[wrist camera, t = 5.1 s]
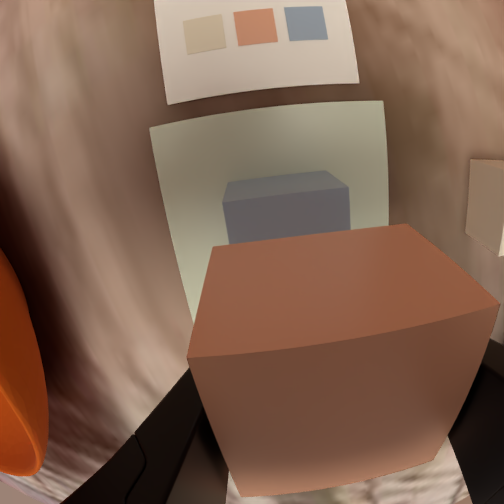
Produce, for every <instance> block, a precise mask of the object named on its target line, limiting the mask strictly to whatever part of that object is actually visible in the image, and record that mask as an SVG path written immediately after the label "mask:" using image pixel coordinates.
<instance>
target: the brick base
mask: <svg viewBox="0 0 504 504" xmlns="http://www.w3.org/2000/svg"><path fill="white" fill-rule="evenodd" d="M222 205H223V211H224V217H225V223H226V228H227V234H228V240H229V244H237V243H245V242H253V241H261V240H269V239H278V238H286V237H294V236H302V235H311V234H319V233H328V232H336V231H345V230H351V224H350V198H349V187H348V186H347V185H345V184H344V183H343V182H341V181H340V180H339V179H337V178H336V177H334V176H333V175H332V174H330V173H329V172H327V171H326V170H325V171H315V172H305V173H296V174H287V175H279V176H271V177H263V178H255V179H248V180H241V181H234V182H228V183H227V187H226V190H225V194H224V198H223V201H222Z"/></svg>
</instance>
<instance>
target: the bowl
mask: <svg viewBox="0 0 504 504" xmlns="http://www.w3.org/2000/svg"><path fill="white" fill-rule="evenodd" d="M48 423H49V414H48V397H47V390H46V383H45V376H44V370H43V365H42V360H41V356H40V351H39V347H38V343H37V339H36V336H35V332H34V329H33V326H32V322H31V319H30V315H29V309H28V305H27V301H26V298H25V295H24V292H23V289H22V287H21V284H20V282H19V280H18V278H17V275H16V273H15V271H14V269H13V268H12V266H11V264H10V262H9V260H8V259H7V257H6V256H5V254H4V252H3V251H2V249H1V248H0V471H1V472H3V473H7V474H10V475H15V476H31V475H34V474H36V473H37V472H38V471H39V470H40V468H41V466H42V464H43V461H44V458H45V454H46V449H47V442H48Z"/></svg>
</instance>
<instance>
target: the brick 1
mask: <svg viewBox="0 0 504 504" xmlns="http://www.w3.org/2000/svg"><path fill="white" fill-rule="evenodd" d="M499 307H500V303H499V302H498V301H497V300H496V299H495V298H494V297H493V296H492V295H491V294H490V293H489V292H487V291H486V290H485V289H484V288H483V287H482V286H481V285H480V284H479V283H478V282H477V281H475V280H474V279H473V278H472V277H471V276H470V275H469V274H468V273H466V272H465V271H464V270H463V269H462V268H461V267H460V266H458V265H457V264H456V263H455V262H454V261H453V260H451V259H450V258H449V257H448V256H447V255H445V254H444V253H443V252H442V251H441V250H439V249H438V248H437V247H436V246H435V245H433V244H432V243H431V242H430V241H428V240H427V239H426V238H425V237H423V236H422V235H421V234H420V233H418V232H417V231H416V230H414V229H413V228H412V227H411V226H409V225H408V224H407V223H406V224H397V225H388V226H379V227H370V228H362V229H353V230H345V231H336V232H328V233H319V234H311V235H302V236H294V237H286V238H278V239H269V240H261V241H253V242H245V243H237V244H229V245H221V246H213V248H212V251H211V256H210V260H209V264H208V268H207V272H206V276H205V280H204V284H203V288H202V292H201V297H200V301H199V305H198V309H197V314H196V318H195V322H194V327H193V331H192V336H191V340H190V345H189V349H188V354H187V361H188V364H189V367H190V370H191V373H192V375H193V378H194V381H195V384H196V387H197V390H198V392H199V395H200V398H201V401H202V403H203V406H204V409H205V411H206V414H207V417H208V419H209V422H210V425H211V427H212V430H213V432H214V435H215V437H216V440H217V442H218V445H219V447H220V450H221V452H222V454H223V457H224V459H225V462H226V464H227V466H228V469H229V471H230V473H231V476H232V478H233V480H234V482H235V485H236V487H237V489H238V491H239V493H240V496H241V497H253V496H268V495H280V494H289V493H298V492H305V491H312V490H319V489H325V488H331V487H336V486H341V485H346V484H351V483H356V482H360V481H365V480H369V479H373V478H377V477H381V476H384V475H388V474H392V473H395V472H398V471H402V470H405V469H408V468H412V467H415V466H418V465H421V464H424V463H426V462H429V461H432V460H433V459H434V458H435V456H436V454H437V453H438V451H439V449H440V448H441V446H442V444H443V442H444V441H445V439H446V437H447V435H448V433H449V431H450V429H451V428H452V426H453V424H454V422H455V420H456V418H457V416H458V414H459V412H460V410H461V408H462V406H463V403H464V401H465V399H466V397H467V395H468V393H469V390H470V388H471V386H472V383H473V381H474V379H475V376H476V374H477V371H478V369H479V366H480V364H481V361H482V359H483V356H484V353H485V351H486V348H487V345H488V342H489V339H490V336H491V333H492V330H493V327H494V324H495V321H496V317H497V314H498V311H499Z"/></svg>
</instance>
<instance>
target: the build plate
mask: <svg viewBox="0 0 504 504" xmlns="http://www.w3.org/2000/svg"><path fill="white" fill-rule="evenodd" d="M149 130H150V136H151V142H152V147H153V153H154V158H155V163H156V169H157V174H158V179H159V184H160V188H161V193H162V198H163V203H164V207H165V212H166V216H167V221H168V225H169V230H170V234H171V238H172V242H173V247H174V251H175V255H176V259H177V263H178V267H179V271H180V275H181V279H182V283H183V287H184V290H185V294H186V298H187V301H188V305H189V309H190V312H191V316H192V320H193V323H194V322H195V318H196V314H197V309H198V305H199V301H200V297H201V292H202V288H203V284H204V280H205V276H206V272H207V268H208V264H209V260H210V256H211V251H212V248H213V246H221V245H229V240H228V234H227V228H226V223H225V217H224V211H223V205H222V201H223V198H224V194H225V190H226V187H227V183H228V182H234V181H241V180H248V179H255V178H263V177H271V176H279V175H287V174H296V173H305V172H315V171H325V170H326V171H327V172H329V173H330V174H332V175H333V176H334V177H336V178H337V179H339V180H340V181H341V182H343V183H344V184H345V185H347V186H348V187H349V198H350V224H351V230H353V229H362V228H370V227H379V226H388V225H389V188H388V159H387V141H386V127H385V115H384V105H383V101H343V102H323V103H308V104H295V105H284V106H275V107H266V108H257V109H249V110H242V111H235V112H228V113H222V114H216V115H210V116H204V117H198V118H193V119H188V120H183V121H178V122H173V123H168V124H163V125H159V126H154V127H150V128H149Z"/></svg>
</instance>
